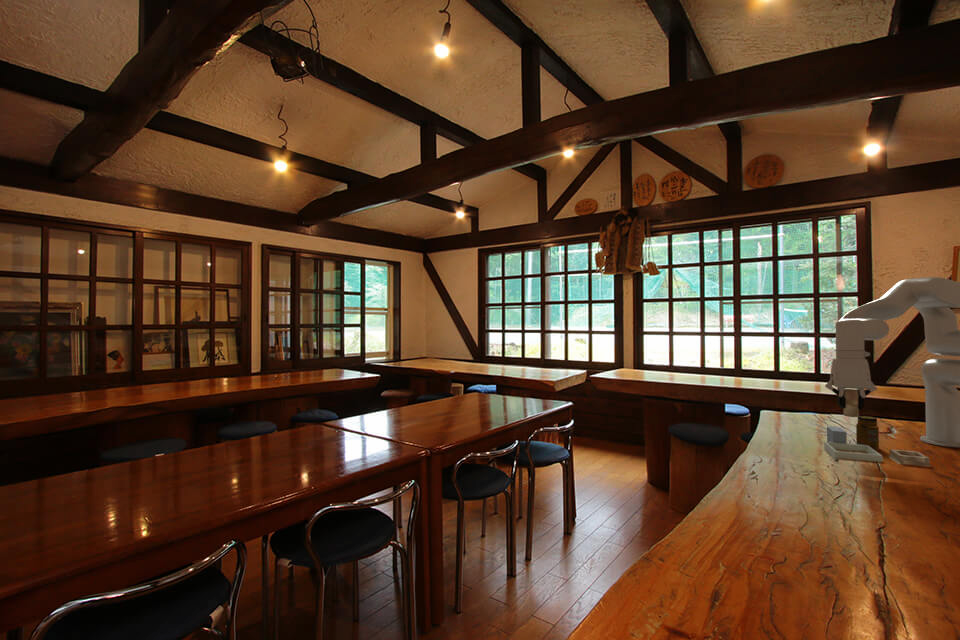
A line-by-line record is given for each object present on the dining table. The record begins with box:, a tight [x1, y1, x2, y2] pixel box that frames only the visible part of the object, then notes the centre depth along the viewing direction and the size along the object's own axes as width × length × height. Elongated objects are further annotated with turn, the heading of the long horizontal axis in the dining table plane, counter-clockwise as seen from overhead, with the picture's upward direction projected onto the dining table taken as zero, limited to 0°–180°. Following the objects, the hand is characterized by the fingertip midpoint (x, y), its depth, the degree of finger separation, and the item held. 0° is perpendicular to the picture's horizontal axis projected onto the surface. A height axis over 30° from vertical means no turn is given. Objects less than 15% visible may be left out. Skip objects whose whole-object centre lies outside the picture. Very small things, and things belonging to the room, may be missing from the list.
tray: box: [823, 441, 884, 463], centre depth 150 cm, size 12×12×3 cm
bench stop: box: [826, 425, 848, 444], centre depth 160 cm, size 4×7×7 cm, turn 155°
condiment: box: [855, 415, 880, 451], centre depth 156 cm, size 7×8×12 cm
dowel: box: [842, 388, 860, 418], centre depth 149 cm, size 4×4×9 cm
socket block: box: [887, 449, 932, 468], centre depth 141 cm, size 8×8×4 cm
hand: (850, 407), depth 149 cm, fingers closed on dowel, 4 cm apart
